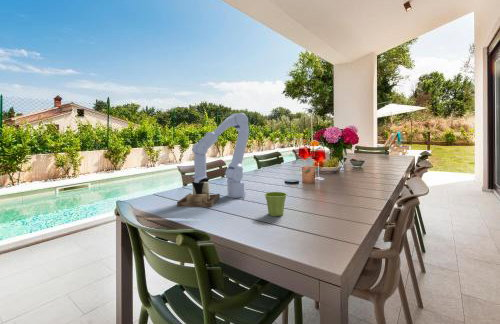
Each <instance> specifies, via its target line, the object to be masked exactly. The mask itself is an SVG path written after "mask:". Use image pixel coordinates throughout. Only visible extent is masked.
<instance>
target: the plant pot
mask: <svg viewBox="0 0 500 324" xmlns="http://www.w3.org/2000/svg"><path fill="white" fill-rule="evenodd" d="M264 196H265V199H266V205H267V211H268V212H267V214H268V215H269V216H271V217H278V216H280V217H281V216H283V215H284V211H285V203H286V198H287V196H288V194H287V192H282V191H270V192H269V191H268V192H266V193H264Z"/></svg>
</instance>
